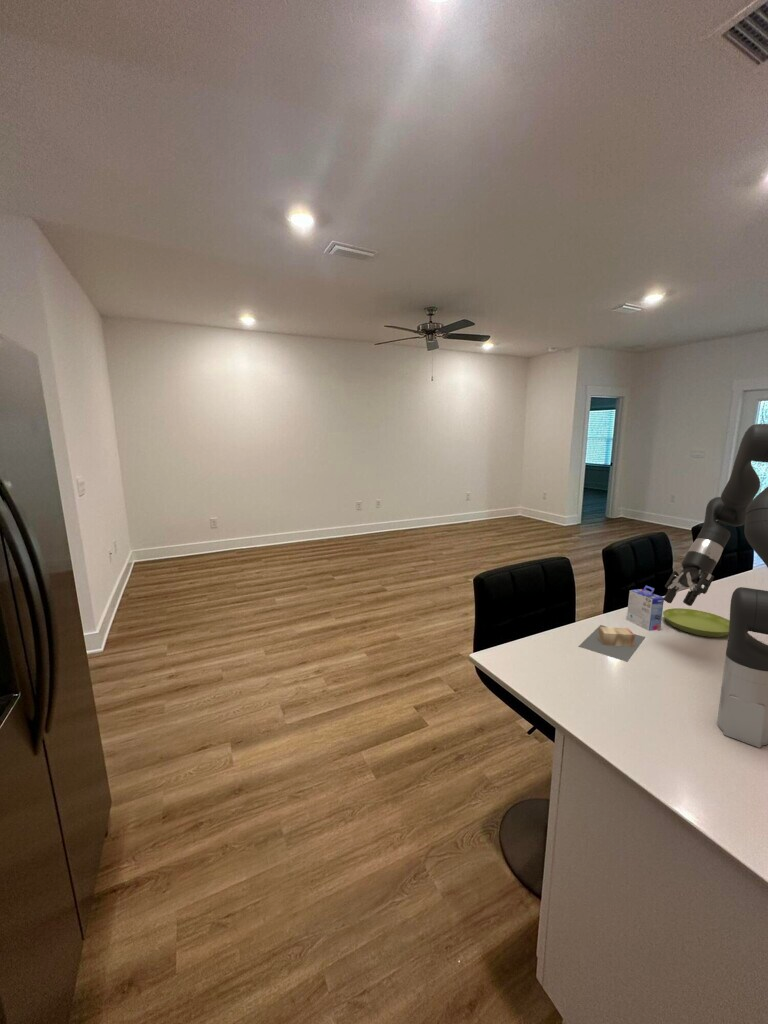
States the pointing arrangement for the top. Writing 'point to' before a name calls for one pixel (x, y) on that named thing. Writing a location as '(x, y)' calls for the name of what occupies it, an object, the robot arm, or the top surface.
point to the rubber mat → (610, 646)
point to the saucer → (697, 622)
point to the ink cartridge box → (645, 609)
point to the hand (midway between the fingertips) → (676, 603)
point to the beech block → (616, 636)
